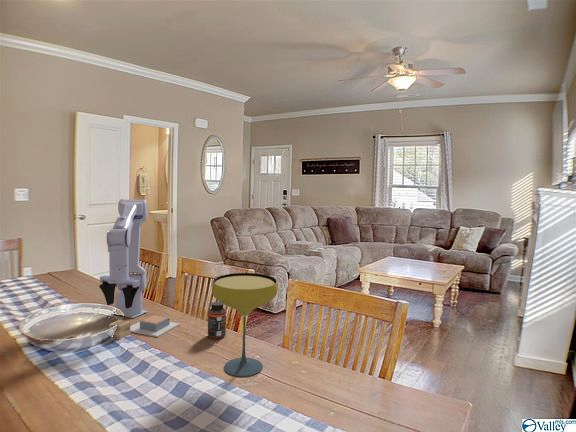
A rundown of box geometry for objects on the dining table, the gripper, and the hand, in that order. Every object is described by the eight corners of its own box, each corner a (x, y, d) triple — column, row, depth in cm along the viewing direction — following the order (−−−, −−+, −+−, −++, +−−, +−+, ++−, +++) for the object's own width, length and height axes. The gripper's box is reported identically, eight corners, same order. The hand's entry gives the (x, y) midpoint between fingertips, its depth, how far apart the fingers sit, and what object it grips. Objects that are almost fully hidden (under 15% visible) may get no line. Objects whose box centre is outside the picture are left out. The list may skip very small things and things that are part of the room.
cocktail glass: (284, 359, 113) (287, 276, 111) (259, 390, 96) (261, 293, 94) (230, 348, 119) (231, 270, 117) (197, 375, 102) (198, 284, 100)
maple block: (109, 337, 125) (109, 324, 125) (119, 332, 129) (119, 319, 129) (120, 339, 124) (119, 326, 123) (130, 334, 128) (130, 321, 127)
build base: (124, 330, 131) (123, 321, 131) (148, 319, 142) (147, 310, 142) (157, 337, 126) (157, 327, 126) (179, 324, 137) (179, 316, 137)
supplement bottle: (223, 339, 126) (224, 306, 125) (205, 339, 126) (206, 305, 125) (227, 332, 132) (227, 300, 131) (210, 332, 132) (210, 300, 131)
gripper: (91, 265, 123) (92, 306, 124) (127, 270, 118) (128, 312, 119) (109, 261, 130) (109, 300, 131) (143, 265, 125) (143, 306, 126)
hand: (119, 305), depth 125 cm, fingers open, 7 cm apart
